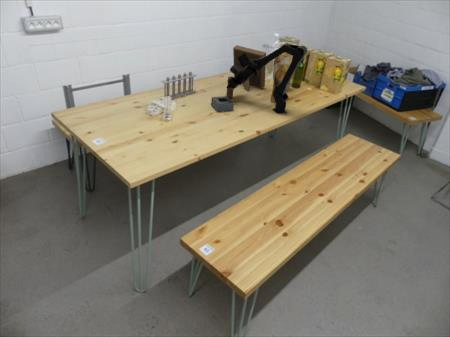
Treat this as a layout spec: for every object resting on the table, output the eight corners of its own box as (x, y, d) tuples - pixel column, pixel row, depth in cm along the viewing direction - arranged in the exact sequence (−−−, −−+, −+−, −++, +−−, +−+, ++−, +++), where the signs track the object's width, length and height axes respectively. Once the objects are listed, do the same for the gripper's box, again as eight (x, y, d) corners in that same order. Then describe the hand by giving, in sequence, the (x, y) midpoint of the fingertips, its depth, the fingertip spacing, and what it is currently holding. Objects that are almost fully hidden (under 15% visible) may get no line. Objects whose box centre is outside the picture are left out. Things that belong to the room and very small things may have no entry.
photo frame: (237, 79, 254) (241, 43, 241) (264, 87, 246) (270, 50, 232) (226, 85, 244) (229, 47, 230) (254, 93, 235) (259, 55, 221)
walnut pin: (233, 98, 224) (235, 78, 217) (227, 99, 223) (229, 78, 216) (231, 96, 227) (233, 76, 220) (225, 96, 226) (227, 76, 219)
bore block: (233, 110, 209) (234, 102, 206) (217, 112, 205) (217, 103, 202) (226, 103, 216) (227, 96, 214) (211, 105, 213) (211, 97, 210)
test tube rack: (165, 101, 212) (165, 79, 205) (160, 99, 214) (160, 77, 207) (196, 92, 228) (197, 71, 221) (191, 90, 231) (192, 69, 224)
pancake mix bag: (264, 101, 226) (270, 56, 210) (281, 94, 238) (289, 51, 223) (272, 104, 222) (280, 59, 207) (290, 97, 234) (298, 54, 219)
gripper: (245, 58, 218) (227, 72, 228) (232, 65, 204) (213, 79, 214) (255, 73, 220) (237, 87, 230) (243, 82, 206) (224, 95, 215)
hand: (228, 87), depth 222 cm, fingers closed on walnut pin, 4 cm apart
